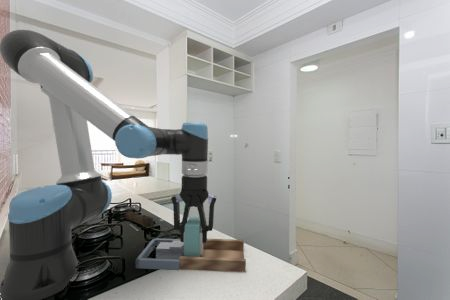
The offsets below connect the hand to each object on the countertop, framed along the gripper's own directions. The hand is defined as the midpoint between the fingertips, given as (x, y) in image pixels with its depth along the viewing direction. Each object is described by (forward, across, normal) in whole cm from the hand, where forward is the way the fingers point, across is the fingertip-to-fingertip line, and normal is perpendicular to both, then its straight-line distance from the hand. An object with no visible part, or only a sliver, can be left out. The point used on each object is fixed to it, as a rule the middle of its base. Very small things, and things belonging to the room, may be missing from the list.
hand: (193, 252), depth 64 cm
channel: (+3, +6, 0) cm, 7 cm away
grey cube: (+2, -9, 0) cm, 9 cm away
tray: (+3, -9, 0) cm, 9 cm away
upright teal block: (+1, 0, 0) cm, 1 cm away
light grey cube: (+2, -5, 0) cm, 5 cm away
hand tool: (+3, -28, +27) cm, 39 cm away
